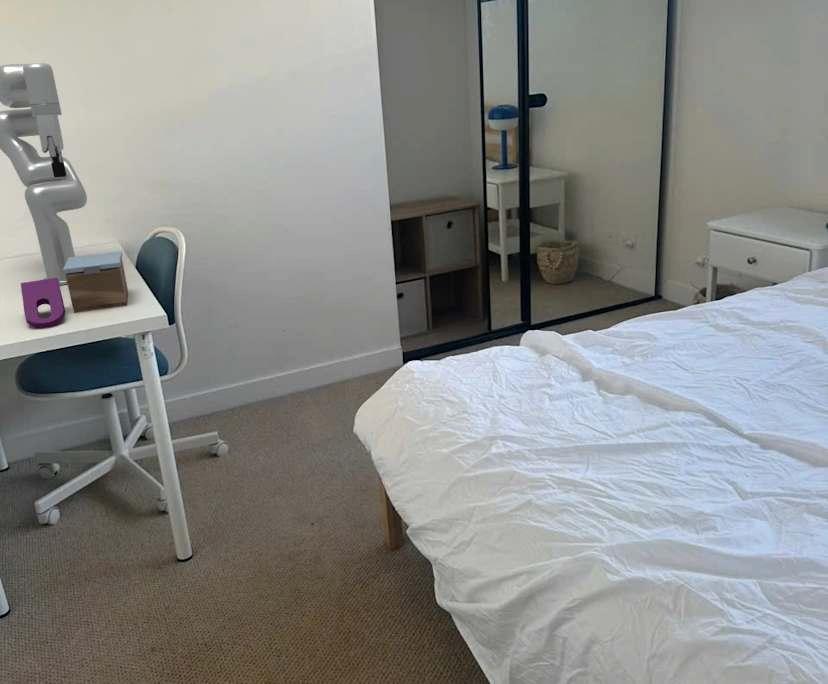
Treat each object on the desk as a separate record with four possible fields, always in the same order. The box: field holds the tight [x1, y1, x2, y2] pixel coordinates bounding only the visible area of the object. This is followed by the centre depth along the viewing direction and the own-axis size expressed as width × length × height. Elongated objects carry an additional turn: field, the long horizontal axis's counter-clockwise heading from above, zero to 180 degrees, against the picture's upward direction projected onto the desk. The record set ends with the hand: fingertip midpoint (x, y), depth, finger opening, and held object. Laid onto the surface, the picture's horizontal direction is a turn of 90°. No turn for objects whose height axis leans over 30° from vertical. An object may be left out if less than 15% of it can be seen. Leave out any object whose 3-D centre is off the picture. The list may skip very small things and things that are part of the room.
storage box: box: [66, 259, 129, 314], centre depth 214 cm, size 16×14×11 cm
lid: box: [63, 250, 123, 275], centre depth 212 cm, size 17×15×2 cm
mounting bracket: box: [20, 278, 66, 330], centre depth 203 cm, size 9×8×18 cm
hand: (60, 176), depth 214 cm, fingers closed
